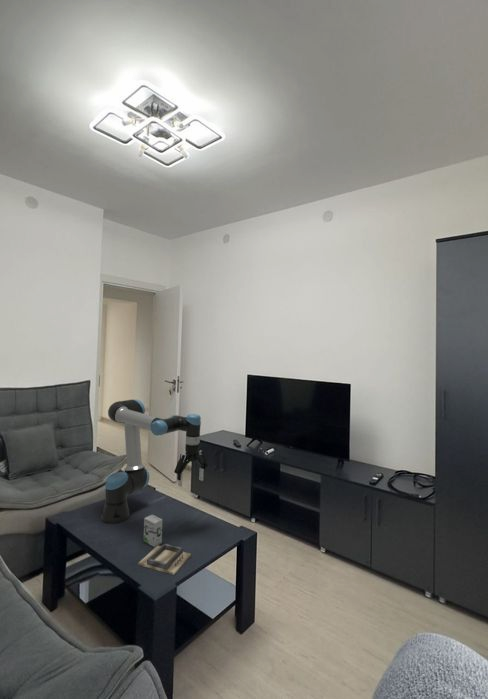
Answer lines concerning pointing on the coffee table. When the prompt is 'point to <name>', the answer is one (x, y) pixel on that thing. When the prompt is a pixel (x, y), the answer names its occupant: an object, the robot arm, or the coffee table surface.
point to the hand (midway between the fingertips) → (190, 483)
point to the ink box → (153, 530)
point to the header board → (165, 559)
